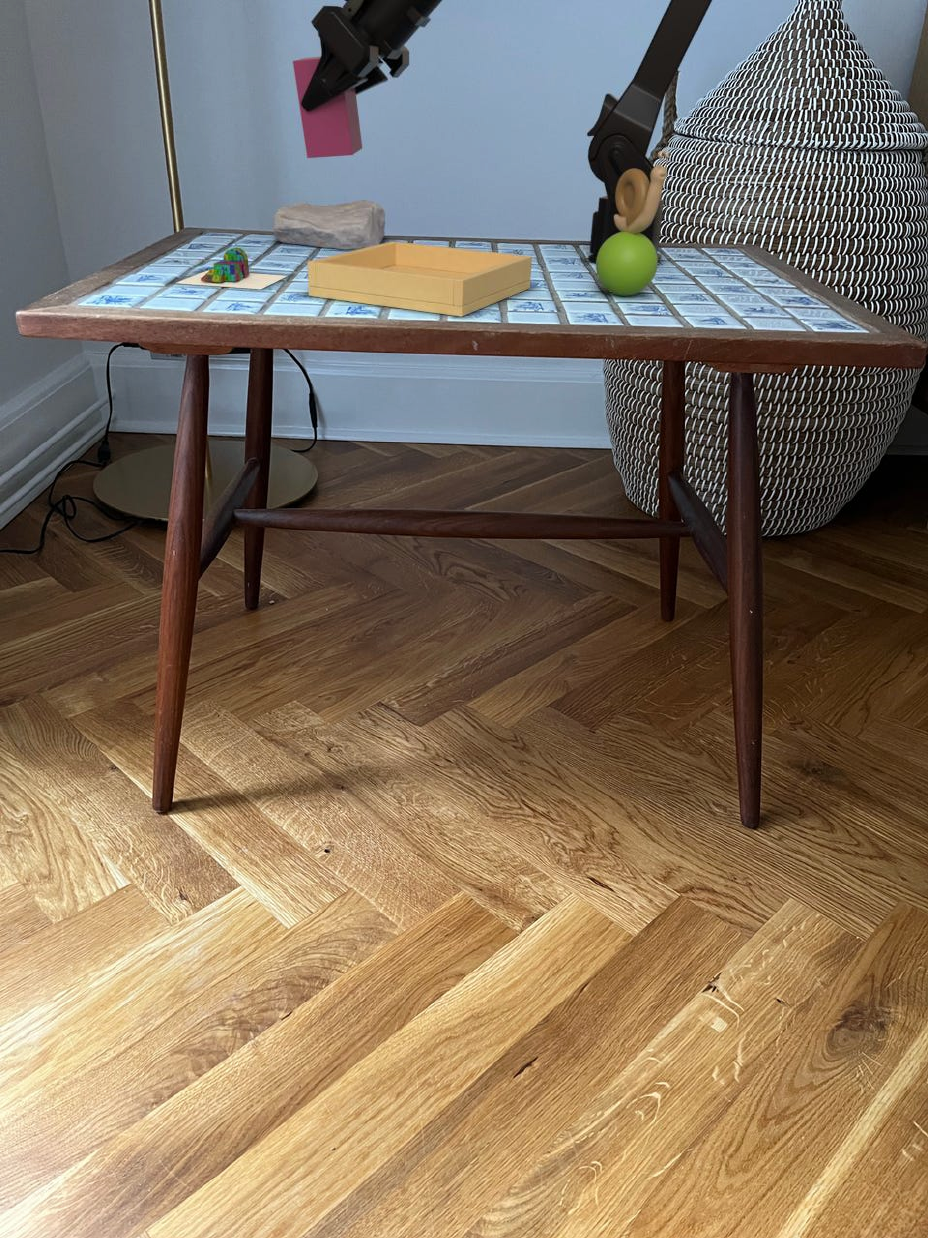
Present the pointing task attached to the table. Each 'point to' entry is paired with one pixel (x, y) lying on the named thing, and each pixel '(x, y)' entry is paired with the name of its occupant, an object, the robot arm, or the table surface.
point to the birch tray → (420, 277)
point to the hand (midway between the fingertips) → (311, 107)
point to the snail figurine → (632, 233)
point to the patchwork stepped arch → (232, 273)
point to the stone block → (331, 225)
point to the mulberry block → (327, 118)
